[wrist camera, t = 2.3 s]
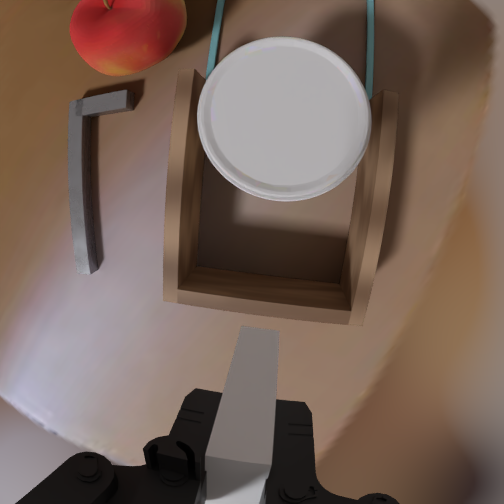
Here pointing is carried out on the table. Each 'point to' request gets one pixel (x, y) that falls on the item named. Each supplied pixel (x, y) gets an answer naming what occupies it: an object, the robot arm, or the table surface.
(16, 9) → the table surface
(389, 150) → the cubby
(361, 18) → the table surface
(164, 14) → the apple
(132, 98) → the crook tool
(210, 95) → the coffee cup
